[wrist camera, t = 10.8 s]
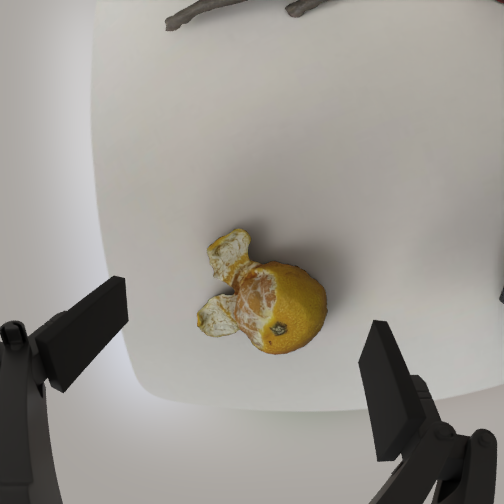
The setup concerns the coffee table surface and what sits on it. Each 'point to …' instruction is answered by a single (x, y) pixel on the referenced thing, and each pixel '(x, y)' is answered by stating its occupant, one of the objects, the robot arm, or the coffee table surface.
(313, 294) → the fruit
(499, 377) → the coffee table surface
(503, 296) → the scale
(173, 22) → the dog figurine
